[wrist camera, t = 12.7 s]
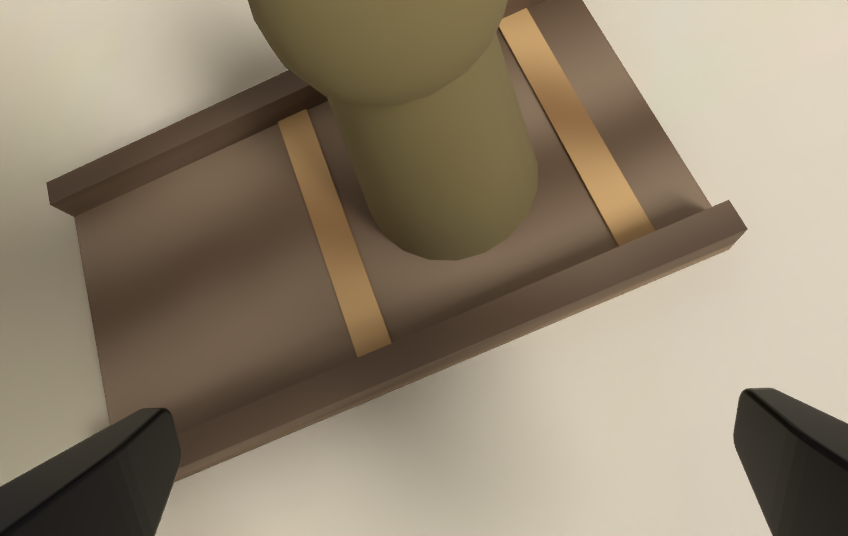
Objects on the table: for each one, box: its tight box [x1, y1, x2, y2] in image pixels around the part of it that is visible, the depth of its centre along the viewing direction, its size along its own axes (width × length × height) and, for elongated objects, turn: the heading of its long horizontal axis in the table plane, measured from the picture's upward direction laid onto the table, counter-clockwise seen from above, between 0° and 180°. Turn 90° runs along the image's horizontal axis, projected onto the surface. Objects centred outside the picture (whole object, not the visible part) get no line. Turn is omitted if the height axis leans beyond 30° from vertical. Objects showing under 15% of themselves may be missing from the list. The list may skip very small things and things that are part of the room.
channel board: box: [47, 0, 747, 482], centre depth 20 cm, size 12×21×2 cm, turn 111°
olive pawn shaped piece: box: [248, 0, 538, 261], centre depth 15 cm, size 6×6×11 cm
